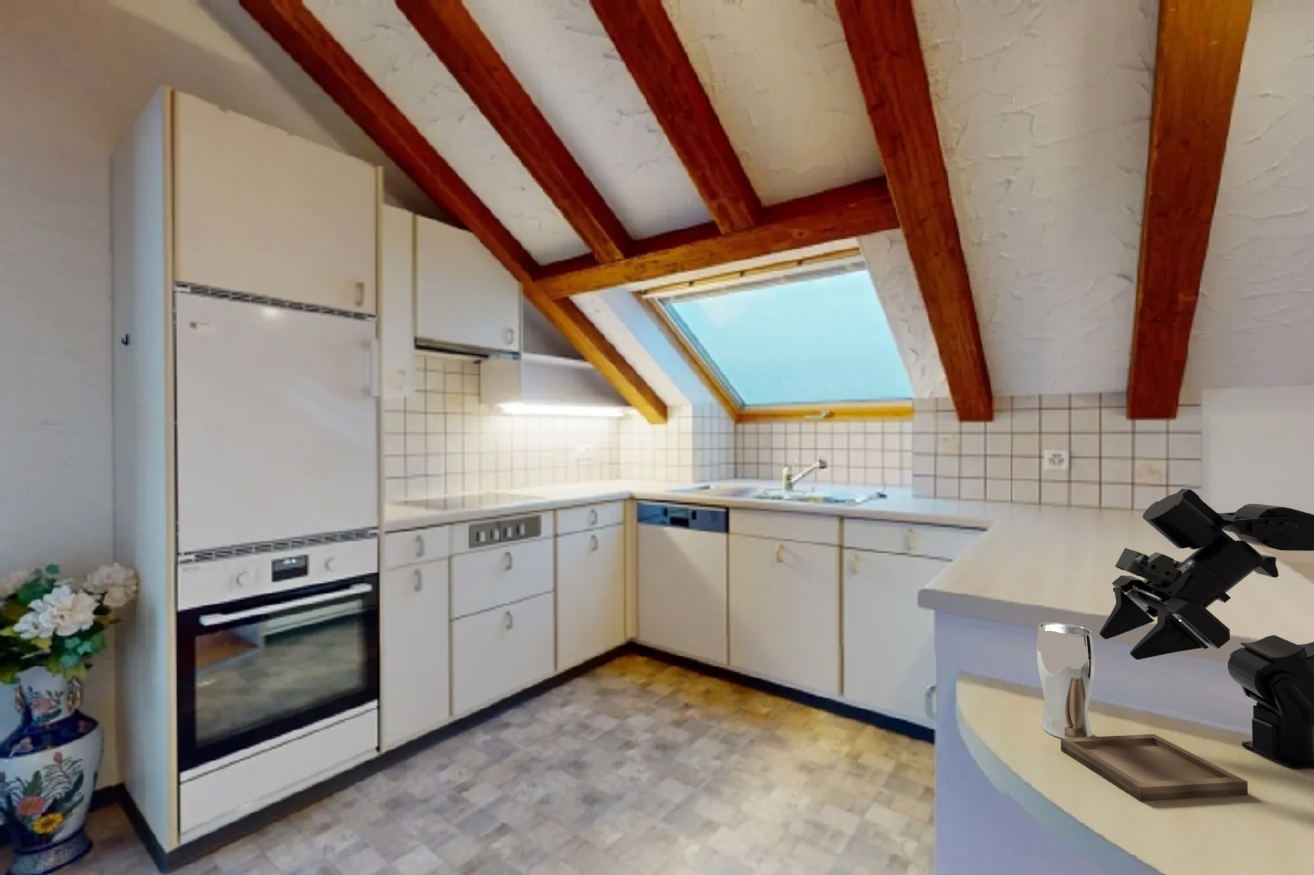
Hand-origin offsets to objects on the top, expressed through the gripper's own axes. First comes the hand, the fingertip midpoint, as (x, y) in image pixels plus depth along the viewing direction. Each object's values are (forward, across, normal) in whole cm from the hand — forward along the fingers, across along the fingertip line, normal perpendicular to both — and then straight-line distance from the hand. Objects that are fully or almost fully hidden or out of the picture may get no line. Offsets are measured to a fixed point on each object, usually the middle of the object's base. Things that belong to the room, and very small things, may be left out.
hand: (1116, 646), depth 86 cm
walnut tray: (+10, +10, +9) cm, 16 cm away
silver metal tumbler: (+14, 0, +5) cm, 15 cm away
